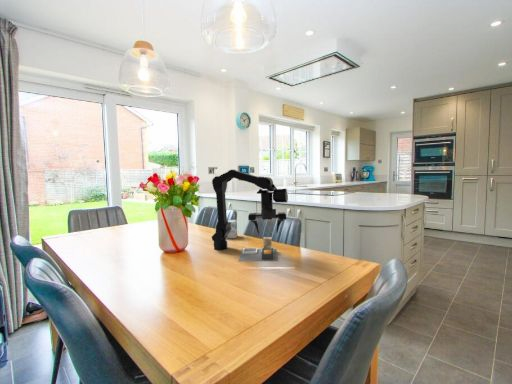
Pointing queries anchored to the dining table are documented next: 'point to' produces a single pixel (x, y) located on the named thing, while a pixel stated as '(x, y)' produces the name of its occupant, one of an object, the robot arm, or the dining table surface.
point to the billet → (267, 243)
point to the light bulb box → (233, 229)
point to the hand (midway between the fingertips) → (267, 233)
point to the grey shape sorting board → (257, 255)
